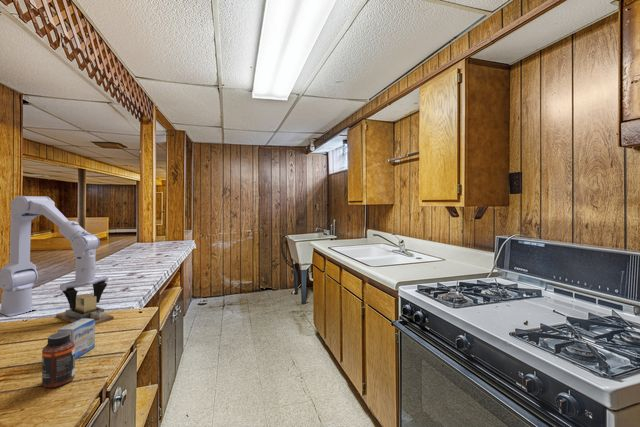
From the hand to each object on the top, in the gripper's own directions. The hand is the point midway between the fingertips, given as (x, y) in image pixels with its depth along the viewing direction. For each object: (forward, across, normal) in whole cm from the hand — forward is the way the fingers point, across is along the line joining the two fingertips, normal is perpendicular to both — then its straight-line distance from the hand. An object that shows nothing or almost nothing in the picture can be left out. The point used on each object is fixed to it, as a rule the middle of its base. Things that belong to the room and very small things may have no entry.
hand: (85, 305), depth 110 cm
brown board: (+5, 0, 0) cm, 5 cm away
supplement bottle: (+5, -24, -37) cm, 44 cm away
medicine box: (+5, -15, -26) cm, 30 cm away
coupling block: (+4, 0, 0) cm, 4 cm away
